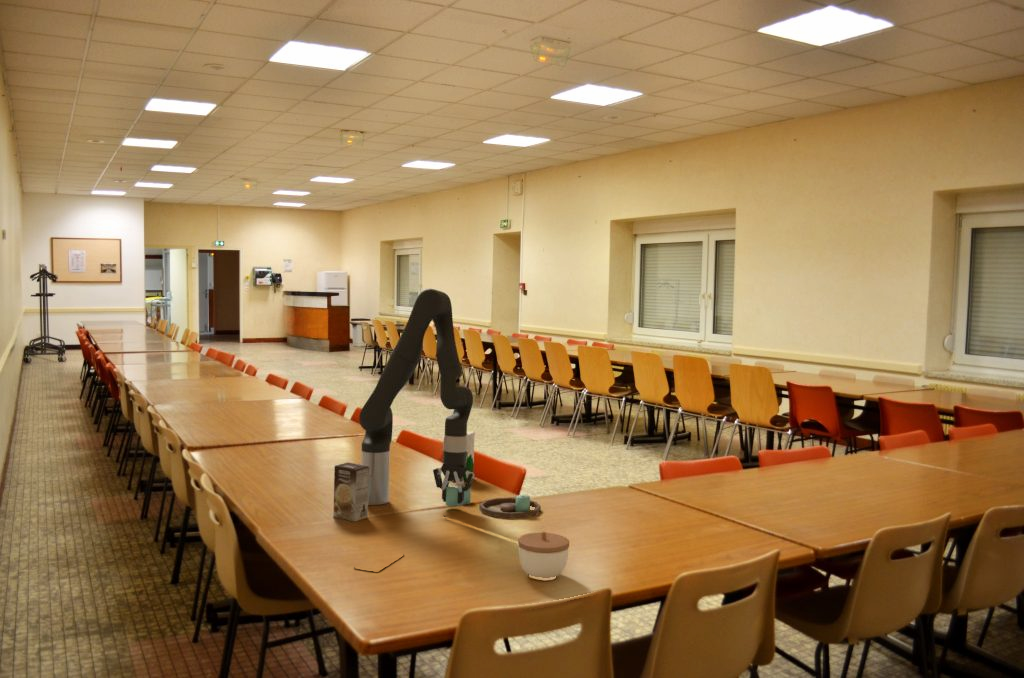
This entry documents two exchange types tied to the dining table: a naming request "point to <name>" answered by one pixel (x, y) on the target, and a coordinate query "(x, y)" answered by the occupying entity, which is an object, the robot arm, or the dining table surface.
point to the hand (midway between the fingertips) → (452, 501)
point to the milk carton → (469, 453)
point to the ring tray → (506, 508)
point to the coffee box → (351, 491)
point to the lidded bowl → (543, 554)
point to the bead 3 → (522, 503)
